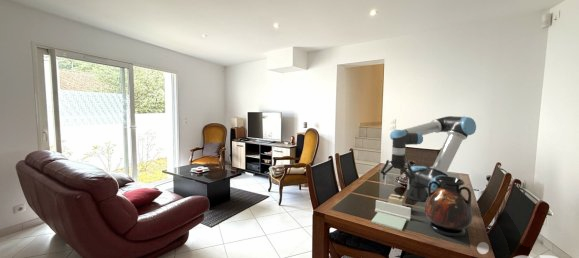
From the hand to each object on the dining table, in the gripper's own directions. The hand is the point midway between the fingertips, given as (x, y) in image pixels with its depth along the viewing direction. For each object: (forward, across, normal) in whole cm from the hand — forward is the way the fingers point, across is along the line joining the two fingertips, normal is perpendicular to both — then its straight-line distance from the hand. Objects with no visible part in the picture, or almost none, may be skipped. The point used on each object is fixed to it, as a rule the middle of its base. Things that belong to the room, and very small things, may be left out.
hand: (396, 186), depth 150 cm
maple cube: (+15, 0, 0) cm, 15 cm away
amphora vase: (+15, +28, -11) cm, 34 cm away
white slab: (+15, 0, -10) cm, 18 cm away
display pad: (+15, +1, -20) cm, 25 cm away
